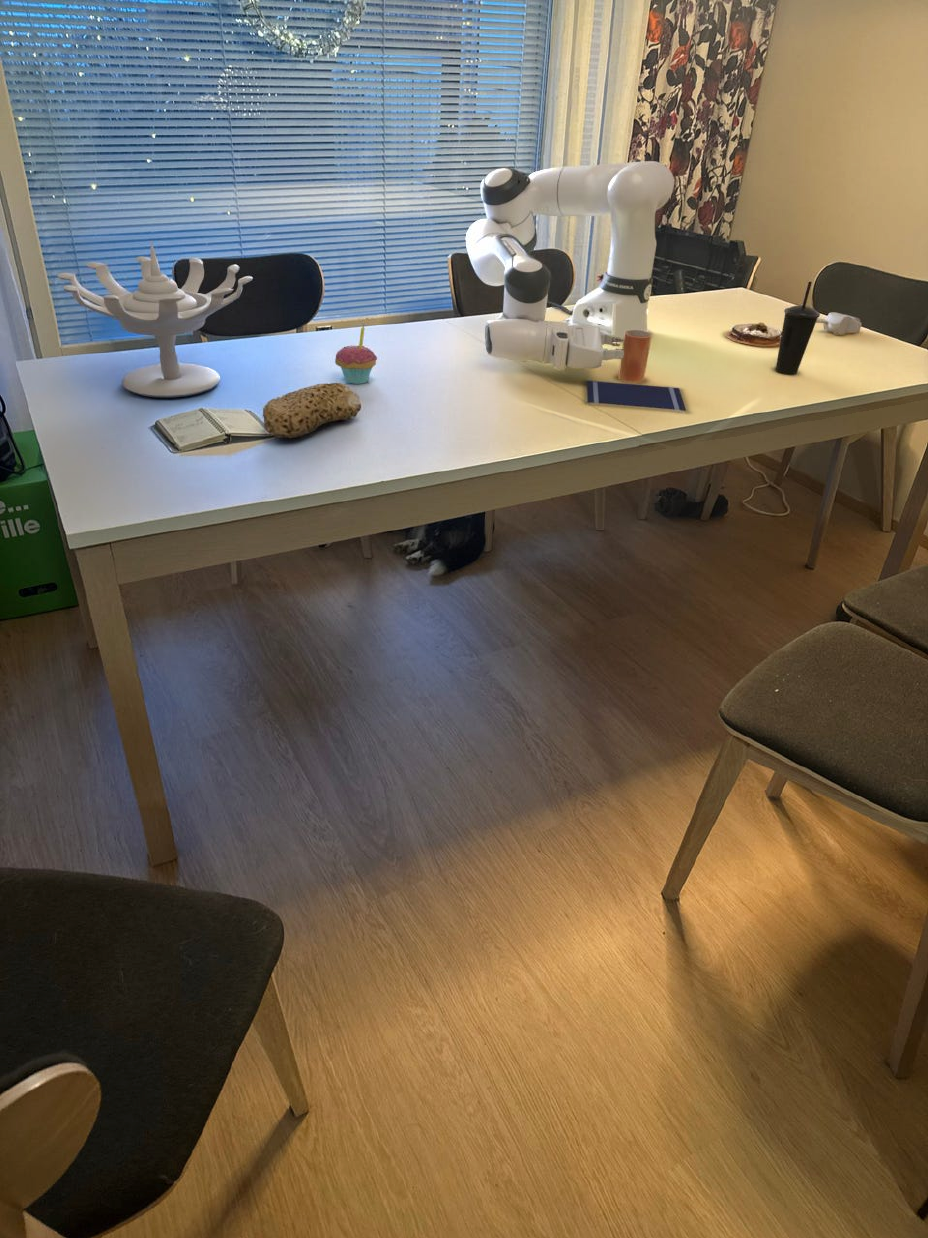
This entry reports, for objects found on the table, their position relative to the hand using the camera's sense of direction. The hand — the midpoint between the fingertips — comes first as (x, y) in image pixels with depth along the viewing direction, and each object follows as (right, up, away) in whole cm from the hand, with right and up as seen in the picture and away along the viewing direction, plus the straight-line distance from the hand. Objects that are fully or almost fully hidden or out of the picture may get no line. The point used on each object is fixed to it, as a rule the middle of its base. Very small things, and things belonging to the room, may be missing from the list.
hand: (622, 347), depth 182 cm
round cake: (+42, +14, +37) cm, 57 cm away
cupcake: (-57, -9, -6) cm, 58 cm away
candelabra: (-93, -12, -13) cm, 95 cm away
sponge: (-63, -24, -28) cm, 73 cm away
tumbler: (+3, -6, +4) cm, 7 cm away
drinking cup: (+41, -1, +14) cm, 44 cm away
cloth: (+2, -12, -6) cm, 14 cm away
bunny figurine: (+67, +19, +45) cm, 83 cm away
